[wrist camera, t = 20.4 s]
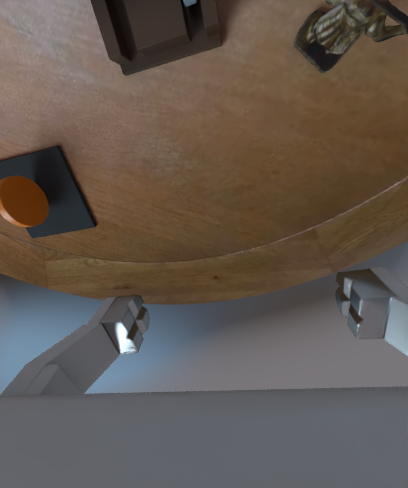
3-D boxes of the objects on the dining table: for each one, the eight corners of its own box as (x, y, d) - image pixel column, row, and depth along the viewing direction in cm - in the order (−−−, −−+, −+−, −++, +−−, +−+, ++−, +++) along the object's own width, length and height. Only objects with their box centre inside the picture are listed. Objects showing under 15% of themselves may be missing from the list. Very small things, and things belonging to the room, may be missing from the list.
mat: (-11, 164, 39) (-14, 165, 38) (59, 146, 36) (57, 146, 35) (34, 237, 45) (31, 238, 44) (96, 225, 42) (95, 227, 42)
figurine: (358, 54, 27) (478, -10, 14) (331, 85, 29) (417, 54, 16) (315, 6, 26) (405, -116, 13) (289, 42, 27) (345, -33, 14)
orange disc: (29, 174, 39) (-19, 180, 31) (35, 173, 38) (-12, 178, 31) (50, 219, 41) (10, 234, 34) (55, 218, 41) (17, 232, 34)
